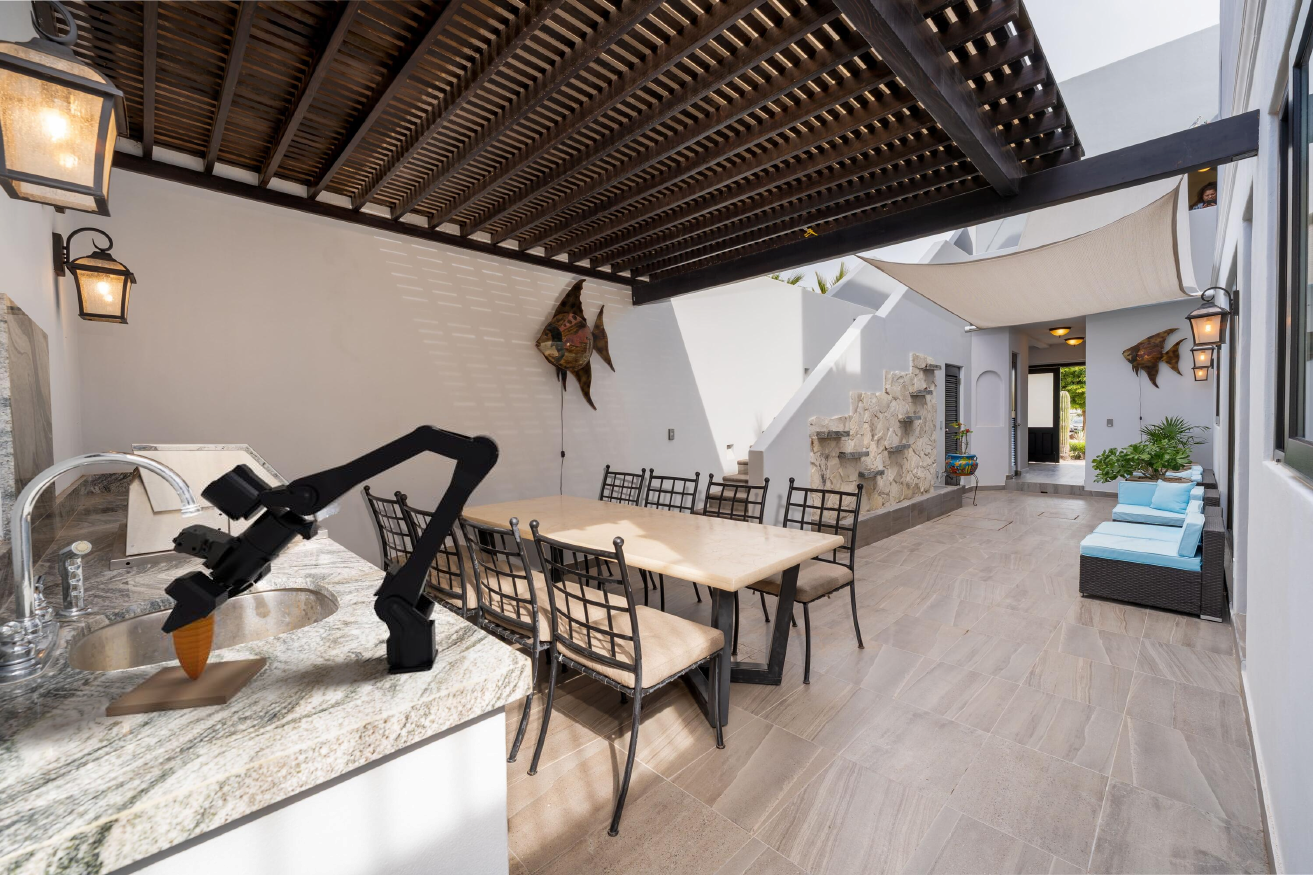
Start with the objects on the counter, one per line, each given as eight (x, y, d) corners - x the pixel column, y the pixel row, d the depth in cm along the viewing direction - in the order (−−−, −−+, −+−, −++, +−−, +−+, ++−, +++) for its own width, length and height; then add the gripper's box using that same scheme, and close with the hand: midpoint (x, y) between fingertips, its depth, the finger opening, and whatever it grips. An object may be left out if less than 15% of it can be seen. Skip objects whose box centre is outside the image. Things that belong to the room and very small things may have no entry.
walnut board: (266, 664, 89) (266, 657, 89) (226, 703, 77) (226, 694, 77) (164, 674, 86) (164, 666, 86) (106, 716, 74) (105, 707, 74)
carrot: (179, 691, 78) (175, 585, 78) (168, 681, 81) (164, 579, 80) (222, 677, 82) (218, 577, 82) (210, 668, 85) (207, 572, 84)
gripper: (245, 496, 90) (168, 569, 88) (178, 518, 72) (79, 610, 70) (302, 540, 92) (228, 612, 90) (251, 572, 74) (158, 663, 72)
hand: (179, 622), depth 80 cm, fingers open, 7 cm apart
